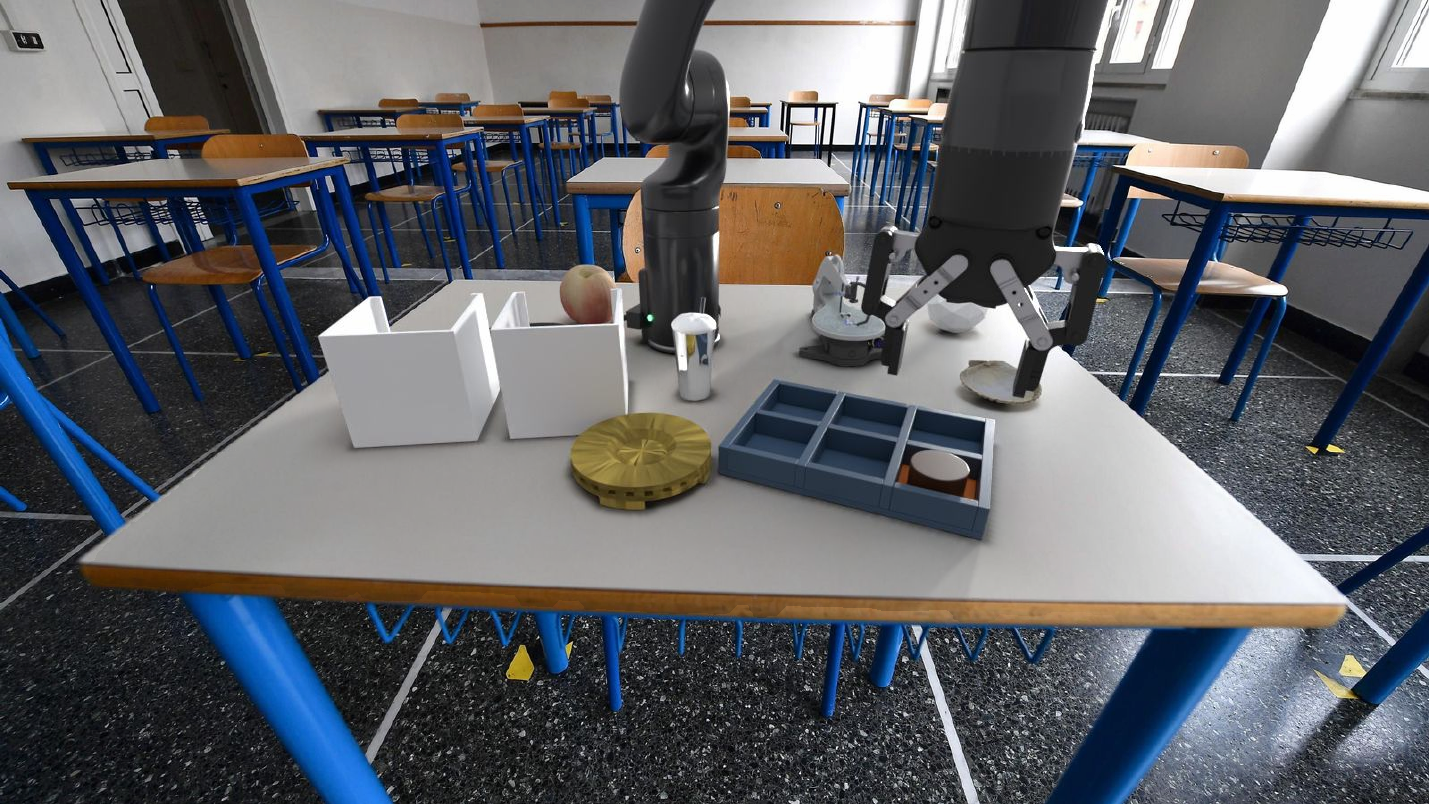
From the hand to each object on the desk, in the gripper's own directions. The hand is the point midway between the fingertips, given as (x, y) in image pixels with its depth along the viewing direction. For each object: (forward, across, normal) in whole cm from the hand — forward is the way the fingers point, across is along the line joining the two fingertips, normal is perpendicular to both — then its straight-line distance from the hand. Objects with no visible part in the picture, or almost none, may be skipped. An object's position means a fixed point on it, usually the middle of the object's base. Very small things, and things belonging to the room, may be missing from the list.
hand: (953, 381), depth 44 cm
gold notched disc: (+11, +23, +6) cm, 26 cm away
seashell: (+11, -4, -22) cm, 25 cm away
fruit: (+12, +48, -23) cm, 55 cm away
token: (+10, 0, 0) cm, 10 cm away
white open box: (+11, +41, +3) cm, 43 cm away
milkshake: (+11, +25, -9) cm, 29 cm away
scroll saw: (+11, +16, -31) cm, 37 cm away
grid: (+11, +6, -4) cm, 13 cm away
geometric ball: (+11, +2, -42) cm, 43 cm away
